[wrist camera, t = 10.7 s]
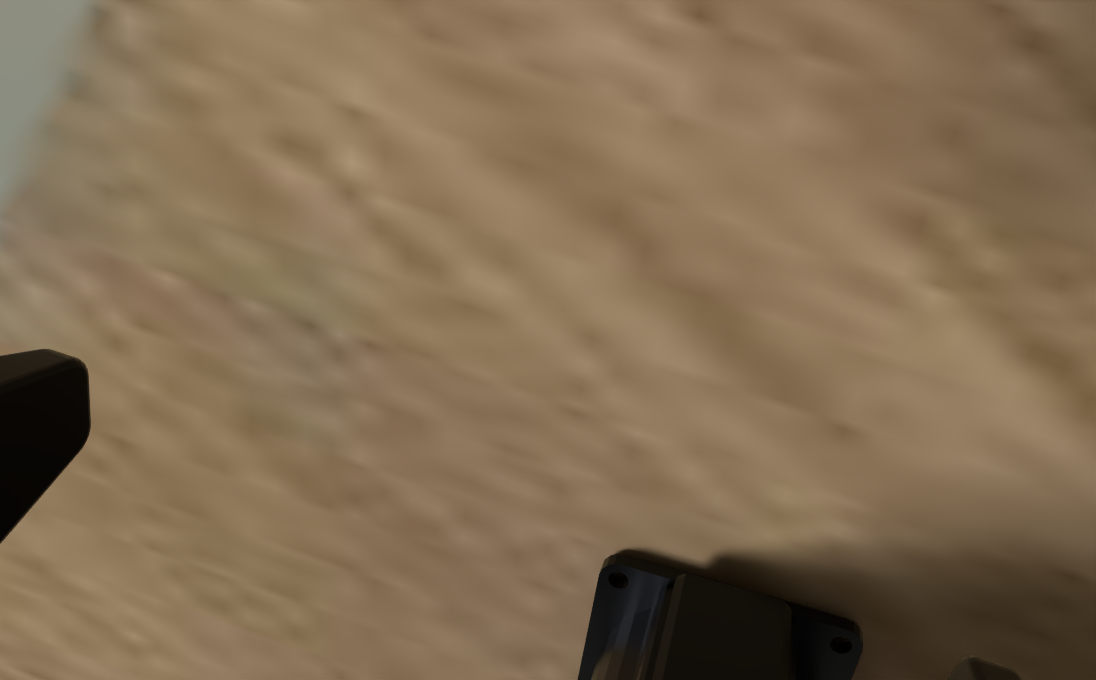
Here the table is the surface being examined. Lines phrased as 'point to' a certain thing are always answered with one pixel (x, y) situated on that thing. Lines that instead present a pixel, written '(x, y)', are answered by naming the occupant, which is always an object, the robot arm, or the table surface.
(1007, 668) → the robot arm
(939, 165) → the table surface
